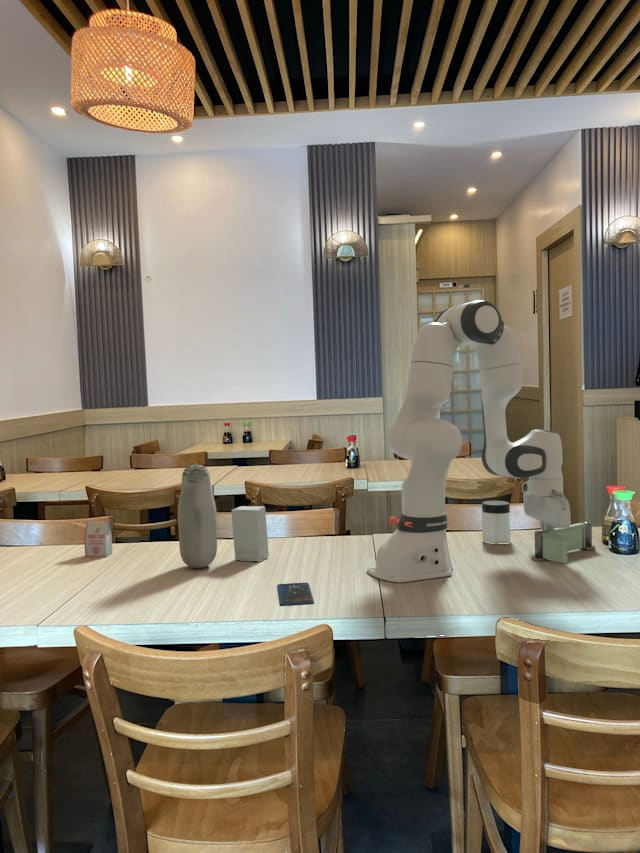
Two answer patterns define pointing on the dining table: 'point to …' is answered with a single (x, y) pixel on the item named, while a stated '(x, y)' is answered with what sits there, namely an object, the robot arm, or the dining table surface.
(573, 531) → the gate
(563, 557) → the fence panel
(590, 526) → the hinge post
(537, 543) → the post
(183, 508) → the grey tall rounded cylinder
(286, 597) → the smartphone
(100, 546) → the white printed carton
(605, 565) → the dining table surface
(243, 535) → the skincare box
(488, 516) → the jar
